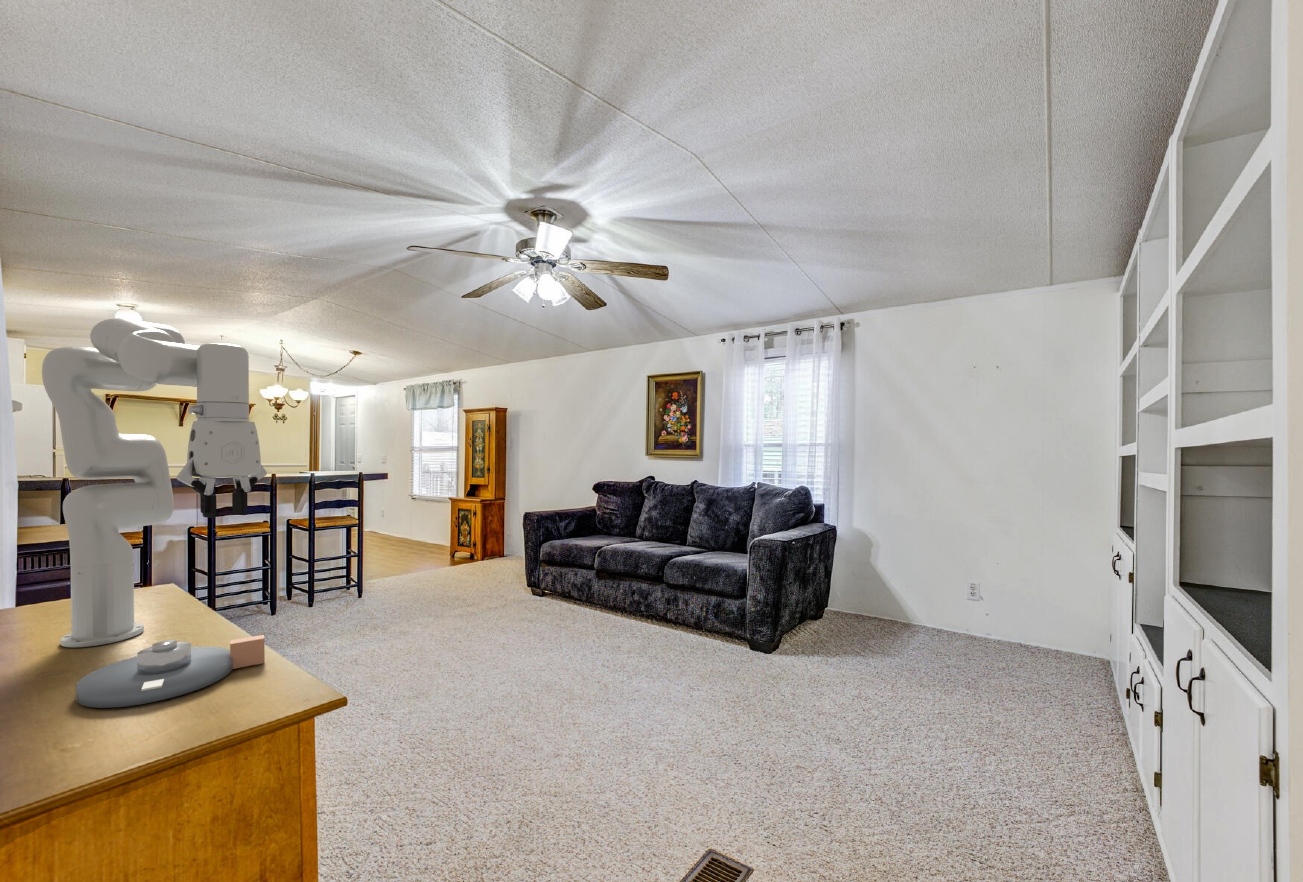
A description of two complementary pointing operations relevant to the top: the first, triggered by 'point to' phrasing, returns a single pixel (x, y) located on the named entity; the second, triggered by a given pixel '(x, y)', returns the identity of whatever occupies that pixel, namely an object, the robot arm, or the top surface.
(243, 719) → the top surface
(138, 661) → the cover
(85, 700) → the turntable
